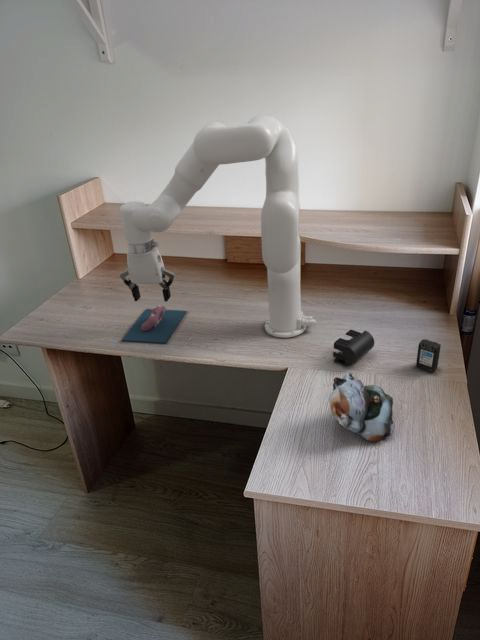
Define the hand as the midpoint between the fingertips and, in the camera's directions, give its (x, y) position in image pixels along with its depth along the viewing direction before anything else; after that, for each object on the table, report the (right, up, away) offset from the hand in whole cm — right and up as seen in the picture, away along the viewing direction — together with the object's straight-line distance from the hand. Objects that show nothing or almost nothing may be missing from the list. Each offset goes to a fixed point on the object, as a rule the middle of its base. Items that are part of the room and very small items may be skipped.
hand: (152, 299), depth 158 cm
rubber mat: (0, -8, +5) cm, 9 cm away
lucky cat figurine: (+56, -33, -40) cm, 76 cm away
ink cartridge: (+77, -21, -22) cm, 82 cm away
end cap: (+58, -18, -16) cm, 63 cm away
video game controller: (0, -8, +5) cm, 9 cm away
